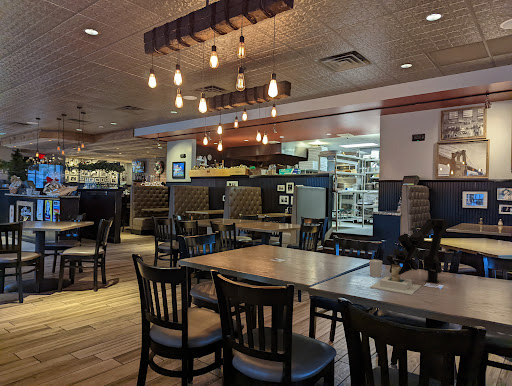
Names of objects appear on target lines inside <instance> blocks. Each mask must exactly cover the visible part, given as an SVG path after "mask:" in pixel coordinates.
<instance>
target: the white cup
mask: <svg viewBox="0 0 512 386" xmlns="http://www.w3.org/2000/svg"><path fill="white" fill-rule="evenodd" d="M382 270H383V260H380V259H369V277H372V278H380V277H381V276H382Z"/></svg>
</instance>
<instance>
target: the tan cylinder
mask: <svg viewBox="0 0 512 386" xmlns="http://www.w3.org/2000/svg"><path fill="white" fill-rule="evenodd" d="M401 265H402V264H392V273H391V277H392V281H395V282H400V278H401V275H398V273H399V271H400V269H401V268H402V266H401Z"/></svg>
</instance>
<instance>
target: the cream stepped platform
mask: <svg viewBox="0 0 512 386" xmlns="http://www.w3.org/2000/svg"><path fill="white" fill-rule="evenodd" d="M412 282H413V279H409V278H402V277H400V282H395V281H392V275H391V276H390V275H386V276H385V277H383V278H381V279H379V281H377V282H376V283H374V284H372V285H371V286H369V289H375V290H379V291H385V292H390V293H397V294H402V295H407V296H412V295H414V294H415V293H416V292H417V291H418V290H419V289H420V288H421V287H422V285H420V284H414V283H412Z"/></svg>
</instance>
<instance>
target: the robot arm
mask: <svg viewBox="0 0 512 386" xmlns="http://www.w3.org/2000/svg"><path fill="white" fill-rule="evenodd" d="M448 227H449V223H448V221H447V219H440V218H439V219H438V218H428V219H426V222H425V223H424V224H423V225H422V226H421V227H420V229H418V231H417V232H414V233H412V234H411V235H410V236H409V234H408V232H404V233H403V234H401V235H399V236H398V237H397V241H398V242H399V244H400V245H401V247H402V248H403V249H400V248H394V249H393V252H392V254H393V255H390V254H389V255H386V257H385V259H386V261H387V262H388V263H389V265H390V266H389V267H390V268H389V273H390V274H392V264H396V265H398V264H399V265H402V266H401V268H400V271H399V273H398V275H400V276H401V275H403V274H404V273H407V272H409V271H412V270H413V271H414V270H415V271H418V269H419V264H418V263H417V261H416V260H413V255H414V254H415V253H419V251H418V250H419V249H418V247H422V246H423V244H424V243H425V238H426V236H427V235H428V234H429V233H430V232H431V231H432V232H433V234H432V237H431V242H430V248H429V252H428V254H427V255H424V257H423V261H422V262H423V263H422V266H423V270H424V271H426V272H427V278H426V280H425V282H429V283H433V284H434V283H435V284H438V283H439V282H440V280H439V274H441V273H442V272H443V269H442V267H441V265H440V259H439V257H438V256H439V251H440V246H441V242H442V239H443V238H442V237H443V235H444V233H446V231H447V229H448ZM394 255H395V256H394Z"/></svg>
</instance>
